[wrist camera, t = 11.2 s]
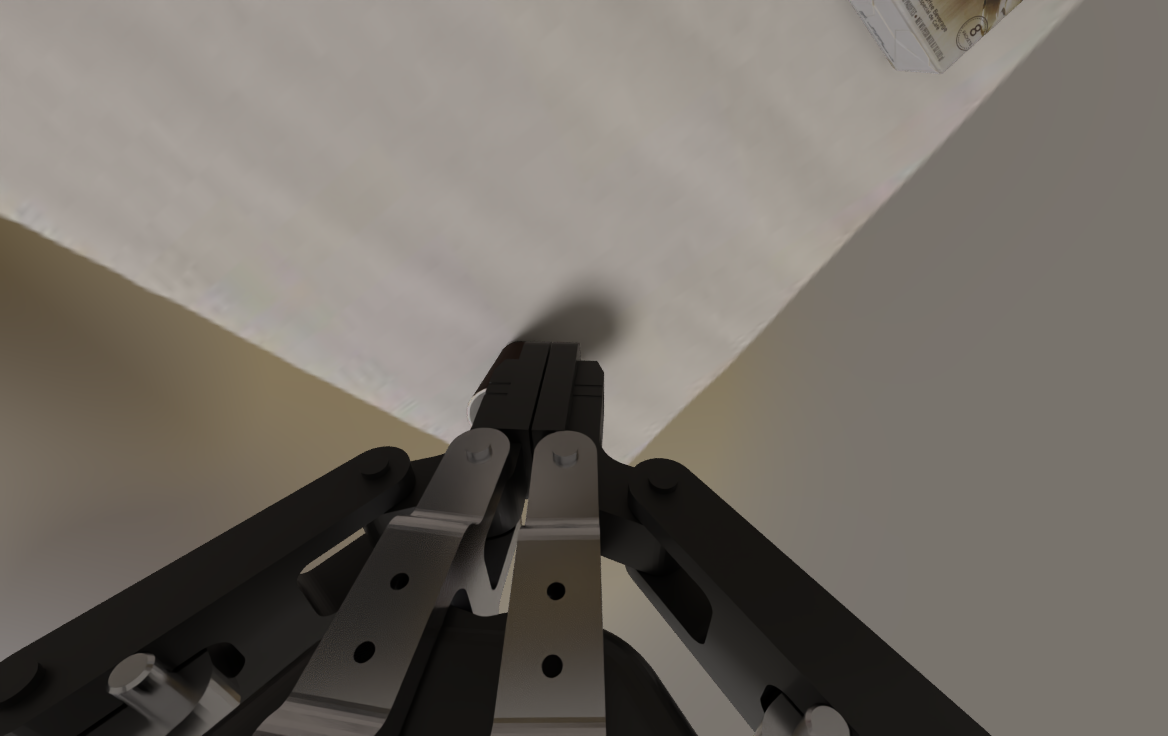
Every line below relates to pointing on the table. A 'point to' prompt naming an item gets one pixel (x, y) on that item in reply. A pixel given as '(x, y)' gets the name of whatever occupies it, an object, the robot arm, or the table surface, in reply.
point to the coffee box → (929, 29)
